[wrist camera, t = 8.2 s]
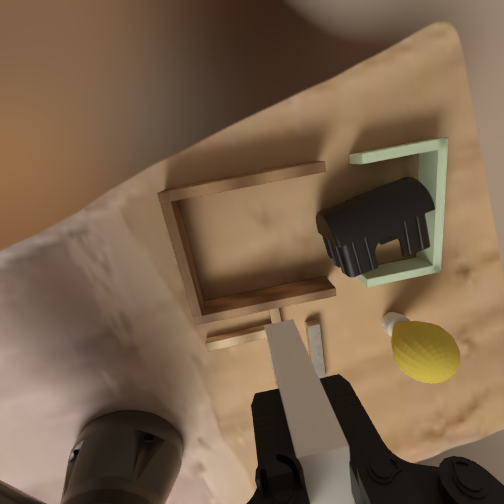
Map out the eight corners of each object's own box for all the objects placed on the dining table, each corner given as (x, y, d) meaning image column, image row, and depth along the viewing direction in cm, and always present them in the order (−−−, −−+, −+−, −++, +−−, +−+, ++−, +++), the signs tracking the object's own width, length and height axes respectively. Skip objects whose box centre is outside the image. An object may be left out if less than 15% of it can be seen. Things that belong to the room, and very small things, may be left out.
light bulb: (376, 294, 36) (430, 341, 27) (421, 300, 37) (488, 348, 28) (360, 337, 38) (405, 395, 29) (403, 342, 39) (460, 400, 30)
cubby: (198, 309, 34) (195, 325, 31) (164, 189, 30) (157, 193, 26) (325, 283, 35) (336, 295, 32) (313, 161, 30) (324, 161, 27)
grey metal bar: (304, 319, 37) (307, 326, 35) (315, 317, 37) (319, 324, 35) (311, 377, 40) (315, 386, 39) (322, 375, 40) (326, 383, 39)
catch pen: (356, 276, 35) (367, 286, 32) (349, 154, 30) (362, 153, 27) (423, 262, 35) (440, 271, 33) (427, 139, 31) (448, 137, 28)
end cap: (389, 174, 31) (432, 177, 25) (401, 229, 34) (442, 246, 27) (308, 207, 32) (329, 219, 25) (325, 260, 34) (348, 283, 28)
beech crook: (208, 345, 36) (207, 351, 35) (198, 314, 35) (198, 319, 34) (281, 328, 37) (283, 333, 35) (275, 297, 35) (277, 301, 34)
